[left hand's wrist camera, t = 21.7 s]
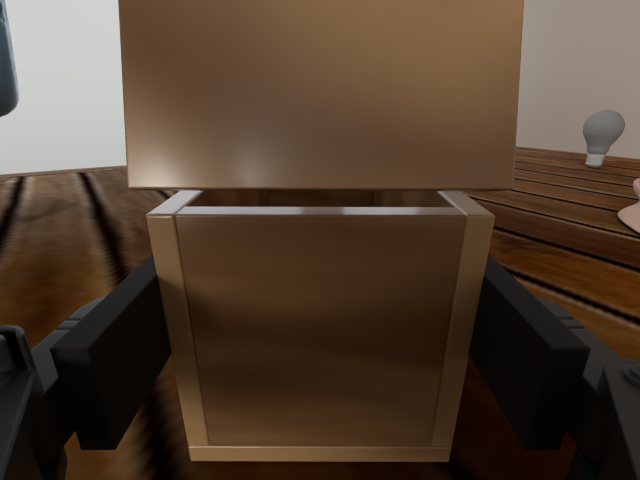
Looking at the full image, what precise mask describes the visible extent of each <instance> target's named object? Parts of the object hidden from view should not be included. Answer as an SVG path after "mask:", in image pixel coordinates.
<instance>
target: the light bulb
mask: <svg viewBox="0 0 640 480" xmlns="http://www.w3.org/2000/svg"><path fill="white" fill-rule="evenodd" d="M624 128H625V122H624V119H623V117H622V116H621V115H620V114H619V113H617V112H615V111H612V110H604V111H600V112H597V113H595V114H593V115H592V116H591V117H590V118H589V119H588V120H587V121H586V122H585V124H584V127H583V134H584V137H585V139H586V142H587V152H588V155H587V156H588V157H587V158H588V159H586V160H587V161H586V163H585V164H587V165H589V166H590V167H598V166H601V165H602V160H603V158H604V157H605V154H606V153H607V152H608V150H609V148H610V146H611V145H612V144H613V143H614V142H615V141H616V140H617V139H618V138H619V137H620V135H621V134H622V132H623V130H624Z"/></svg>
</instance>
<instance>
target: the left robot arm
mask: <svg viewBox="0 0 640 480" xmlns="http://www.w3.org/2000/svg"><path fill="white" fill-rule="evenodd" d="M18 101H19V91H18V83H17V75H16V68H15V62H14V55H13V48H12V42H11V36H10V29H9V23H8V17H7V11H6V5H5V0H0V117H1V116H4V115H7V114H8V113H10V112H11V111H12V110H13V109H15V107H16V106H17V103H18ZM469 354H470V356H471V358H472V359H473V361H474V363H475V365H476V366H477V368H478V370H479V371H480V373H481V375H482V377H483V378H484V380H485V382H486V383H487V385H488V387H489V389H490V390H491V392H492V394H493V395H494V397H495V399H496V401H497V402H498V404H499V406H500V407H501V409H502V411H503V413H504V414H505V416H506V418H507V419H508V421H509V423H510V424H511V426H512V428H513V430H514V431H515V433H516V435H517V436H518V438H519V440H520V442H521V443H522V445H523V447H524V448H525V450H559V449H560V445H561V442H562V439H563V436H564V433H565V430H567V431H568V433H569V434H570V435H571V437H572V438H573V439H574V441H575V442H576V443H577V447H576V450H575V453H574V456H573V459H572V462H571V464H570V467H569V470H568V473H567V476H566V480H574V479H575V480H640V361H639V360H636V359H629V358H623V357H621V358H620V357H619V356H618V355H617V354H616V353H614V352H613V351H612V350H611V349H610V348H609V347H608V346H606V345H605V344H604V343H603V342H602V341H601V340H599V339H598V338H597V337H596V336H595V335H594V334H592V333H591V332H590V331H589V330H588V329H585V328H584V326H583V325H582V324H581V323H580V322H578V321H577V320H574V317H573V316H571V315H570V314H569V313H568V312H567V311H566V310H565V309H563V308H562V307H561V306H559V305H557V304H555V303H553V302H552V301H550V300H548V299H546V298H544V297H534V296H533V295H532V294H531V293H530V292H529V291H528V290H527V289H526V288H525V287H523V286H522V285H521V284H520V283H519V282H518V281H517V280H516V279H515V278H514V277H513V276H512V275H510V274H509V273H508V272H507V271H506V270H505V269H504V268H503V267H502V266H501V265H500V264H499V263H497V262H496V261H495V260H494V259H493V258H492V257H491V256H490V255H489V254H488V257H487V263H486V268H485V273H484V278H483V284H482V289H481V294H480V299H479V305H478V310H477V315H476V320H475V326H474V331H473V336H472V341H471V347H470V352H469ZM170 355H171V349H170V344H169V338H168V333H167V327H166V322H165V317H164V311H163V306H162V300H161V295H160V289H159V284H158V279H157V273H156V268H155V262H154V257H153V254H152V255H151V256H150V257H148V258H147V259H146V260H145V261H144V262H143V263H142V264H141V265H140V266H139V267H138V268H137V269H135V270H134V271H133V272H132V273H131V274H130V275H129V276H128V277H127V278H126V279H125V280H124V281H122V282H121V283H120V284H119V285H118V286H117V287H116V288H115V289H114V290H113V291H112V292H111V293H109V294H108V295H107V296H106V297H105V298H97V299H95V300H94V301H92V302H90V303H88V304H86V305H84V306H82V307H80V308H79V309H78V310H77V311H76V312H74V313H73V314H72V315H71V316H70V317H69V318H67V321H64V322H63V323H62V324H61V325H59V326H58V327H57V330H54V331H52V332H51V333H50V334H49V335H48V336H47V337H46V338H44V339H43V340H42V341H41V342H40V343H39V344H37V345H36V346H35V347H34V348H33V349H32V350H31V349H30V346H29V344H28V341H27V338H26V335H25V332H24V329H22V328H20V327H18V326H12V325H3V326H0V480H65V474H66V466H67V458H66V453H65V450H64V447H63V446H64V445H65V443H66V442H67V441H68V439H69V438H70V437H71V435H72V434H73V433H74V431H76V434H77V437H78V440H79V444H80V447H81V450H115V449H116V448H117V446H118V444H119V442H120V441H121V439H122V437H123V436H124V434H125V432H126V430H127V429H128V427H129V425H130V424H131V422H132V420H133V418H134V417H135V415H136V413H137V412H138V410H139V408H140V406H141V405H142V403H143V401H144V400H145V398H146V396H147V394H148V393H149V391H150V389H151V388H152V386H153V384H154V383H155V381H156V379H157V377H158V376H159V374H160V372H161V371H162V369H163V367H164V365H165V364H166V362H167V360H168V359H169V357H170Z"/></svg>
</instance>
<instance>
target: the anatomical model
mask: <svg viewBox="0 0 640 480" xmlns="http://www.w3.org/2000/svg"><path fill="white" fill-rule="evenodd" d="M633 188H634V191H635V193H636V194H637V196H638V197H639V202H638V203H636V204H634V205H632V206H629V207H627V208H624V209H623V210H621V211H619V212H618V217H619V218H620V219H621V220H622V221H623V222H624V223H625V224H626V225H628V226H629V227H631V228H632V229H634V230H635V231H637V232H639V233H640V178H639V179H636V180H635V181H634V183H633Z"/></svg>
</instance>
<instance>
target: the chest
mask: <svg viewBox="0 0 640 480" xmlns="http://www.w3.org/2000/svg"><path fill="white" fill-rule="evenodd" d="M146 219H147V224H148V230H149V235H150V241H151V246H152V251H153V257H154V262H155V268H156V273H157V279H158V284H159V289H160V295H161V300H162V306H163V311H164V317H165V322H166V327H167V333H168V338H169V344H170V349H171V355H172V360H173V365H174V371H175V376H176V382H177V387H178V393H179V398H180V403H181V409H182V414H183V420H184V425H185V431H186V436H187V441H188V445H189V446H188V448H189V453H190V459H191V461H296V462H448V461H449V457H450V452H451V446H452V441H453V436H454V431H455V425H456V420H457V415H458V410H459V404H460V399H461V394H462V389H463V383H464V378H465V373H466V368H467V362H468V357H469V352H470V347H471V341H472V336H473V331H474V326H475V320H476V315H477V310H478V305H479V299H480V294H481V289H482V284H483V278H484V273H485V268H486V263H487V257H488V252H489V247H490V242H491V236H492V231H493V226H494V221H495V216H494V215H493V214H492V213H490V212H489V211H487V210H486V209H485V208H483V207H482V206H481V205H479V204H478V203H476V202H475V201H474V200H472V199H471V198H469V197H468V196H467V195H465V194H464V193H462V192H461V191H179V192H178V193H176V194H175V195H174V196H172V197H171V198H169V199H168V200H167V201H165V202H164V203H162V204H161V205H160V206H158V207H157V208H155V209H154V210H152V211H151V212H150V213H148V214H147V216H146Z"/></svg>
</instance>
